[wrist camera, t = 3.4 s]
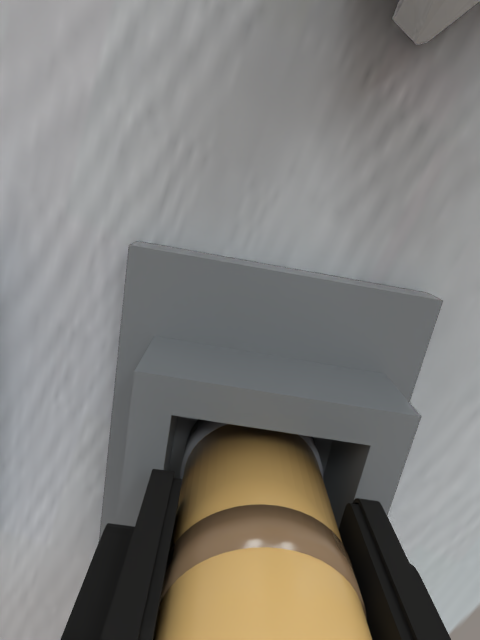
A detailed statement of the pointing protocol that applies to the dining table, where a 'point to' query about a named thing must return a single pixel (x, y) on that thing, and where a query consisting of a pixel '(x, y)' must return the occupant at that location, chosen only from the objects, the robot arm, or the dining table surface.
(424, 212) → the dining table surface
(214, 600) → the fuse
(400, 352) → the grey square socket holder
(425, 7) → the electrical switch
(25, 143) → the dining table surface
